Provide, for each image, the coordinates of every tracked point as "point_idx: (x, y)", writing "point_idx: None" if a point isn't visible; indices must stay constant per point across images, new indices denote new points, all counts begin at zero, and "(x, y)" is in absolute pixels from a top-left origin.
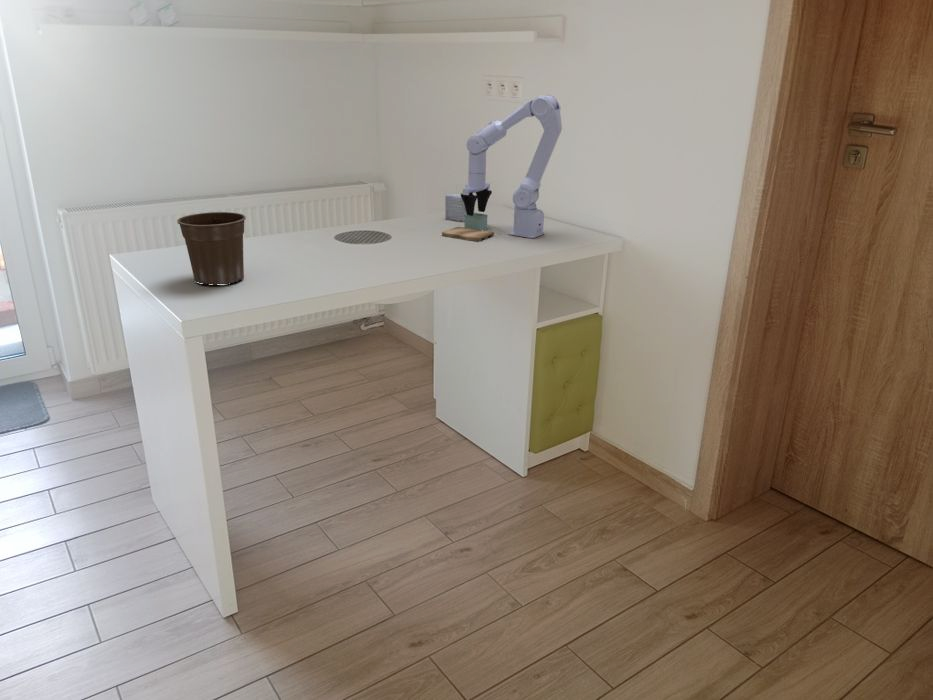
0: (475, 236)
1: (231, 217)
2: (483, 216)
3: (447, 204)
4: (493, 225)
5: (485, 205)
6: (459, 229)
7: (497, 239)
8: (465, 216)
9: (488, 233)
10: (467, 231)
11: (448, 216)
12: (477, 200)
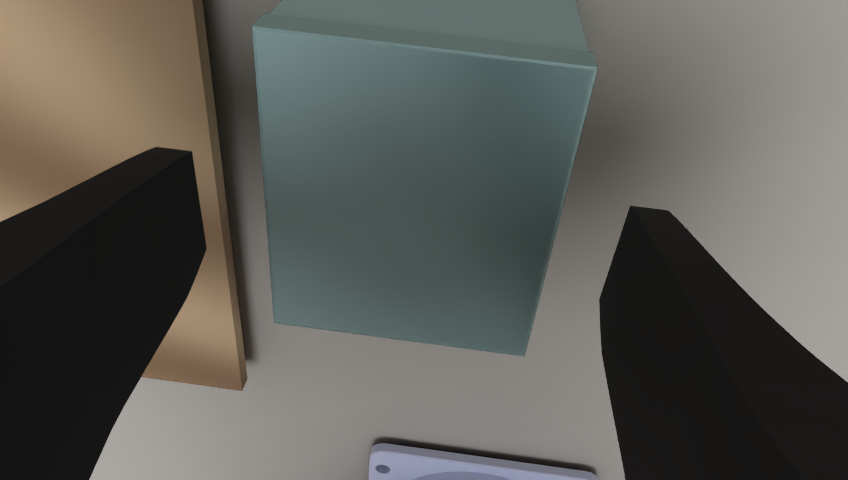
0: None
1: None
2: (387, 334)
3: None
4: (775, 215)
5: (628, 426)
6: (45, 12)
7: (168, 409)
8: (261, 44)
9: (161, 364)
10: (48, 159)
11: None
12: (714, 345)
